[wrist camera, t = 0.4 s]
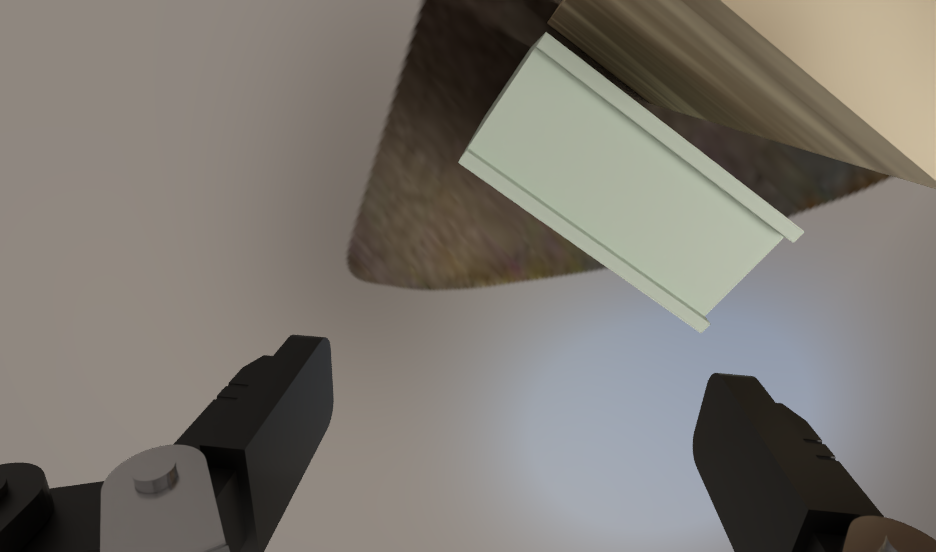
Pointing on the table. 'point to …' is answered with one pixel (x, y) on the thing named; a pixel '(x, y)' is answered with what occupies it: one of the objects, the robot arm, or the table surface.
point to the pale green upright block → (622, 184)
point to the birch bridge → (781, 70)
